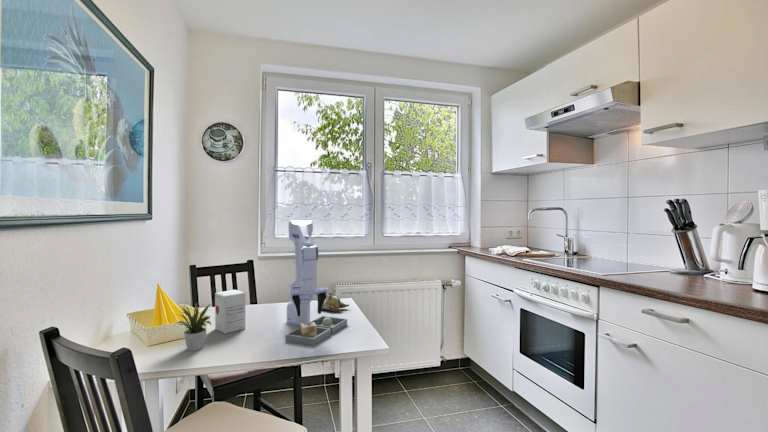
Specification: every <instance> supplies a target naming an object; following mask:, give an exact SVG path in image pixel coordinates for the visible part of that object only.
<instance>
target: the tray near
mask: <svg viewBox="0 0 768 432" xmlns="http://www.w3.org/2000/svg"><path fill="white" fill-rule="evenodd" d="M331 335H332V334H331V329H329V328H322V327H317V336H316V337H314V338H309V337H302V336H301V326H299V327H298V328H296V329H293V330H292V331H290V332H289V333H286V334H285V335H284V336H285V338H284V339H285V341H284V342H288V343H293V344H300V345H306V346H312V347H314V346H316V345H317V344H319V343H320V342H322V341H324V340H325V339H326V338H328V337H330V336H331Z"/></svg>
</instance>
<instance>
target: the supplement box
mask: <svg viewBox="0 0 768 432" xmlns="http://www.w3.org/2000/svg"><path fill="white" fill-rule="evenodd" d="M214 309H215V310H214V312H215V313H214V314H215V315H214V319H215V320H214V321H215V322H214V323H215V324H214V325H215V327H214V328H215V330H217V331H219V332H221V333H223V334H230V333H234V332H237V331H242V330H245V329H246V292H243V291H241V290H238V289H230V290H225V291H224V290H223V291H218V292H215V293H214Z"/></svg>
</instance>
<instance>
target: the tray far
mask: <svg viewBox="0 0 768 432" xmlns="http://www.w3.org/2000/svg"><path fill="white" fill-rule="evenodd" d="M326 317H329V318H330V319H331V320H332V325H331V326H330V327H329V326H323V324H322V321H323V319H324V318H326ZM311 322H314V323H315V324H316V326H317V327H322V328H329V329H331V335H333V334H335V333H336V332H338V331H340V330H341V329H344V328H345V327H346V326H347V325H348V319H347V318H343V317H342V318H341V317H334V316H326V315H325V316H324V315H321V316H319V317H318V318H316V319H313V321H311ZM309 323H310V322H309Z"/></svg>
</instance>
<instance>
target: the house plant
mask: <svg viewBox="0 0 768 432" xmlns="http://www.w3.org/2000/svg"><path fill="white" fill-rule="evenodd" d="M197 304H198V301H197V302H196V303H195V306H194V308H193V315H191V311H190V309H189V308H188V306H185V305H184V306H183V307H182V306H181V309H182V310H183V311H180V310H179V314H180V313H181V314H180V317H183V319H184V320H185V321H182V320H180V321H179V320H178V321H177V322H176V324H179V326H182V325H184V326H185V328H186V329H185V330H184V331H183V334H184V335H183V336H184V340H185V345H186V350H187V351H188V350H189V351H188V352H194V351H195V352H196V351H199V350H202V349H204V347H205V341H206V334H207V327H206V326H207V325H206V323H207V324H208V325H210V326H212V322H211V321H208V320H209V319H211V315H209V316H204V315H205V314H206V313H207V312H208V311H209V307H210V306H211V305H212V303H210V304H208V305H206V306H205V307H204V309H203V310H202V311H200V312H199V310H200V308H199V307H198V305H197ZM203 306H204V303H203V304H202V305H201V307H203ZM184 307H185V308H184ZM175 310H177V311H178V308H175ZM199 313H200V314H199ZM186 316H187V317H186ZM203 326H204V327H203Z"/></svg>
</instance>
